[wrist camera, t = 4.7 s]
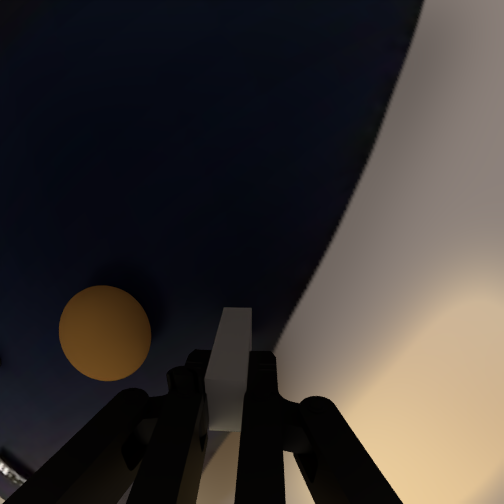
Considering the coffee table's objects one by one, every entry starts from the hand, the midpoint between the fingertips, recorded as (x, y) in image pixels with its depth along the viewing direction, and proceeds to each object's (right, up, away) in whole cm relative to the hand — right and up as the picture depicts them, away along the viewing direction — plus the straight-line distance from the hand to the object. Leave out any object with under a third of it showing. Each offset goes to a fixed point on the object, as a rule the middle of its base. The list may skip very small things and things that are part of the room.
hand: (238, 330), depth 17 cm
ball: (-8, 0, -1) cm, 8 cm away
